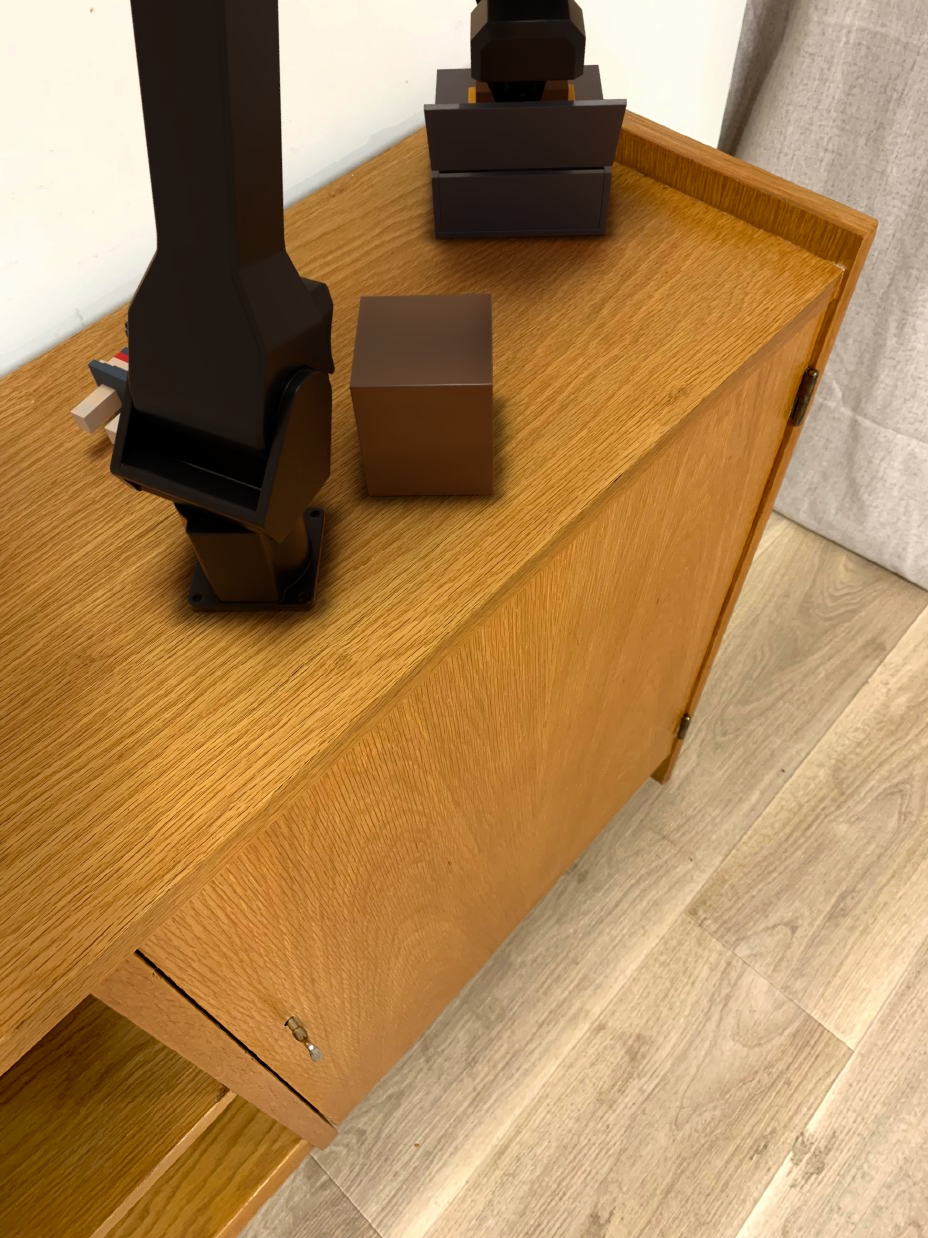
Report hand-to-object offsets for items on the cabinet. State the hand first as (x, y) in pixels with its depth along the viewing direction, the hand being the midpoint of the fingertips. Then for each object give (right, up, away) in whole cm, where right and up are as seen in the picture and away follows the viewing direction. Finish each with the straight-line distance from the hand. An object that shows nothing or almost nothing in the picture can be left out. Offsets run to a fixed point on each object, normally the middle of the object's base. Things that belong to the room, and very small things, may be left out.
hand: (520, 127), depth 60 cm
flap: (0, -3, -5) cm, 5 cm away
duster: (0, 0, 0) cm, 0 cm away
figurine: (-20, -18, -4) cm, 28 cm away
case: (0, -1, +7) cm, 7 cm away
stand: (-6, -23, -8) cm, 25 cm away
